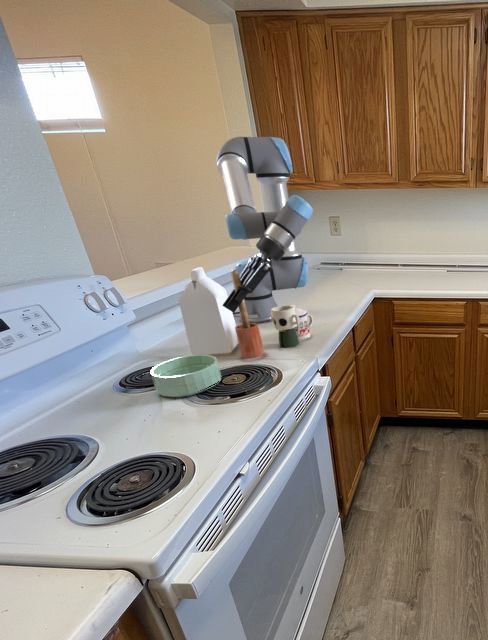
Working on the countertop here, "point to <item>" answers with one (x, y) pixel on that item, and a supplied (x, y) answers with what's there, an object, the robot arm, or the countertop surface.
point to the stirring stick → (242, 306)
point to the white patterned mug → (302, 323)
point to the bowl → (186, 375)
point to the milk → (207, 316)
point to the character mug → (285, 325)
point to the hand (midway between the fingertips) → (228, 309)
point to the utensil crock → (249, 341)
